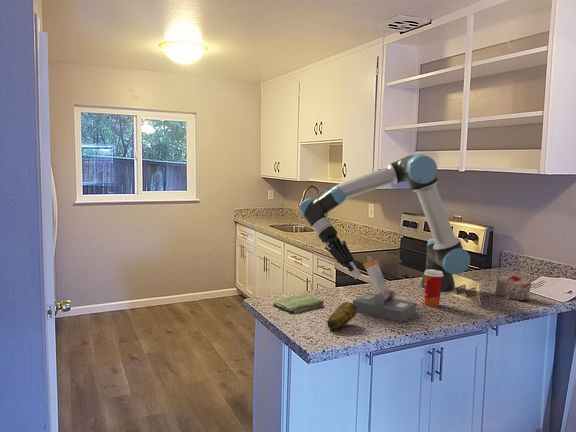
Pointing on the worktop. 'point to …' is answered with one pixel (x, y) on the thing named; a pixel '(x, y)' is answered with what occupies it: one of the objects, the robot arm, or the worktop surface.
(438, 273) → the paper cup
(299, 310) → the washcloth
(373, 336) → the worktop surface
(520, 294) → the food item
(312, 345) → the worktop surface
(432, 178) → the robot arm
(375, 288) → the lever
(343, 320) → the potato
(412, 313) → the switch block
